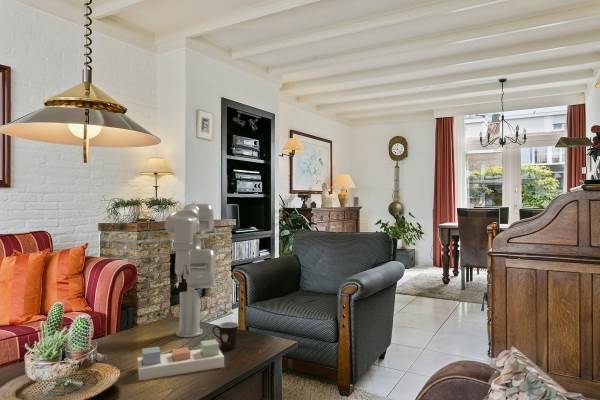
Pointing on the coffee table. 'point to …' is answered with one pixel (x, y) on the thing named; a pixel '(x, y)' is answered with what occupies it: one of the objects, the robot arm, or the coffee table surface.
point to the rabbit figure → (101, 357)
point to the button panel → (179, 365)
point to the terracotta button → (180, 354)
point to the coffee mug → (227, 335)
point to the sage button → (209, 348)
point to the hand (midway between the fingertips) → (182, 291)
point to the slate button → (150, 356)
